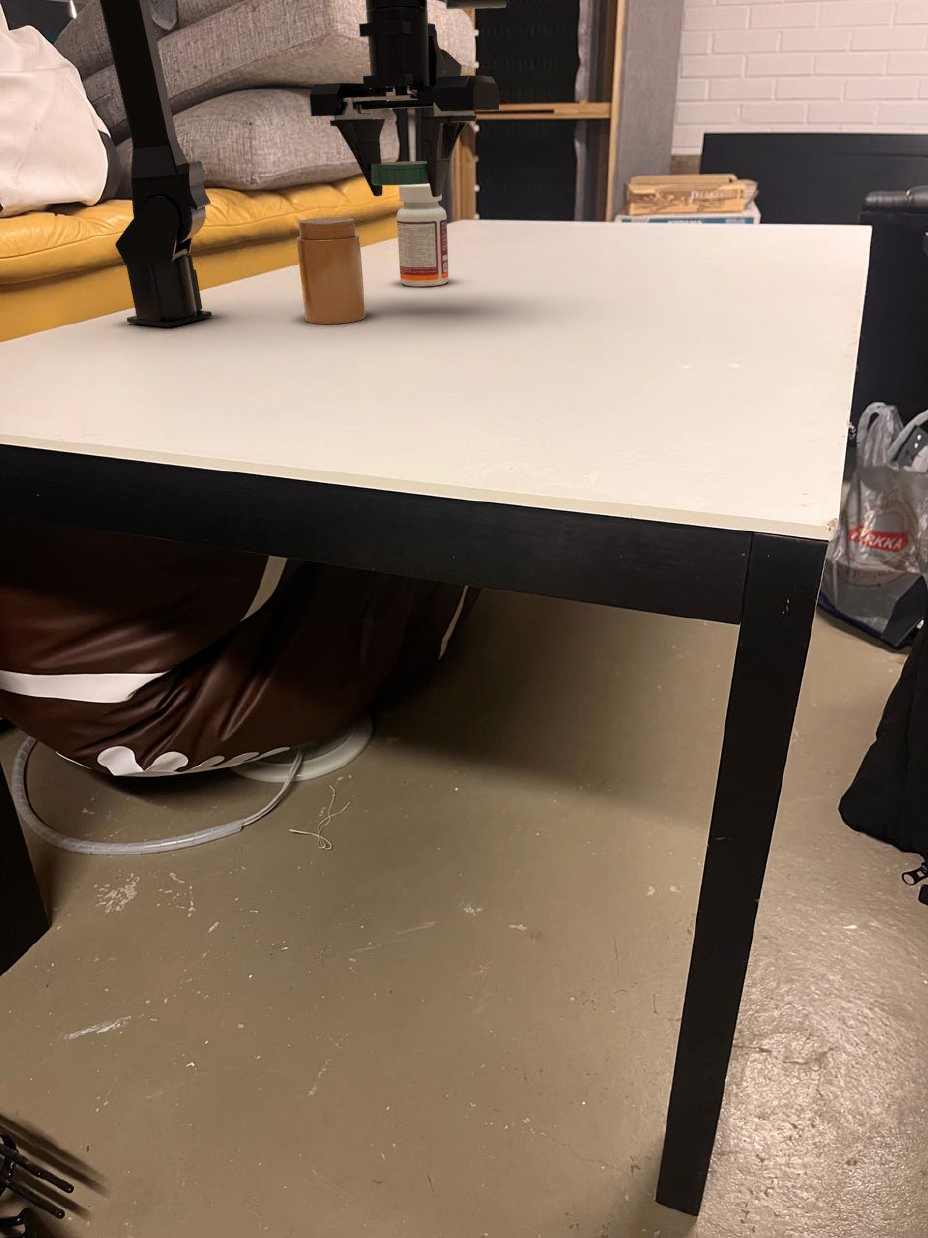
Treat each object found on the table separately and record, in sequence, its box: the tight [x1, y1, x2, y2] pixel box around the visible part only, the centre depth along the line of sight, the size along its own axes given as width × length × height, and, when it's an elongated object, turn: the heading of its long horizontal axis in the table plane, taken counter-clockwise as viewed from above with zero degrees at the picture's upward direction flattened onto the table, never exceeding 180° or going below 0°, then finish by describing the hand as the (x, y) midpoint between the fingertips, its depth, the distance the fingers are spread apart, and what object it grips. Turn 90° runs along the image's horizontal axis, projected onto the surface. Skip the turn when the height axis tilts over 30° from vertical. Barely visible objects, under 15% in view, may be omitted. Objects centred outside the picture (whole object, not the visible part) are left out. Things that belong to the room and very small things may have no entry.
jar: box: [295, 217, 367, 325], centre depth 90 cm, size 6×6×10 cm
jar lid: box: [371, 160, 429, 186], centre depth 88 cm, size 7×7×2 cm
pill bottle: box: [396, 184, 449, 288], centre depth 109 cm, size 6×6×11 cm
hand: (407, 196), depth 89 cm, fingers closed on jar lid, 7 cm apart
